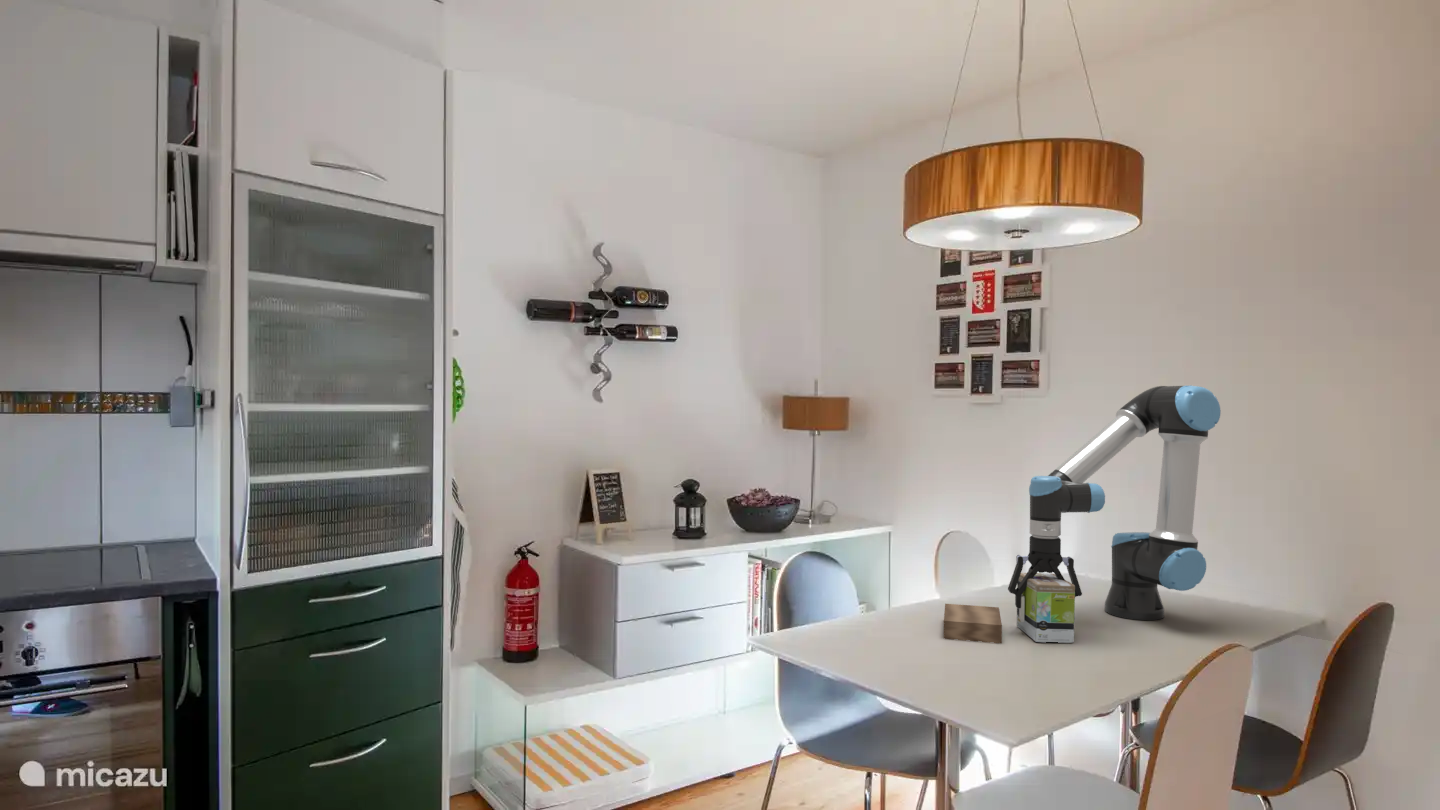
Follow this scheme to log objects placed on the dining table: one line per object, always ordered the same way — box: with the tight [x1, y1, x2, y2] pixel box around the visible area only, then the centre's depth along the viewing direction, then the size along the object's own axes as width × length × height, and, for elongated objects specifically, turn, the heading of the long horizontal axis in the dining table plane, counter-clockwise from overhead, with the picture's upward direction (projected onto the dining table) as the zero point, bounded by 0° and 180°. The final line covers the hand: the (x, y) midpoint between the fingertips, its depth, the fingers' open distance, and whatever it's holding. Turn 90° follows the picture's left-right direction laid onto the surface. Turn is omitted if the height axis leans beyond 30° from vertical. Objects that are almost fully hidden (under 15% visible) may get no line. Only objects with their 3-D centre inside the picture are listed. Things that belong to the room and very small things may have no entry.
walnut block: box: [943, 603, 1003, 644], centre depth 218 cm, size 14×18×5 cm
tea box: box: [1016, 572, 1076, 644], centre depth 215 cm, size 15×10×15 cm, turn 178°
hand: (1044, 621), depth 216 cm, fingers closed on tea box, 10 cm apart
